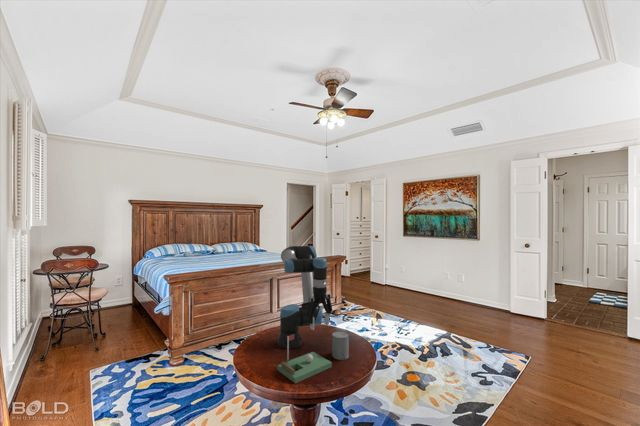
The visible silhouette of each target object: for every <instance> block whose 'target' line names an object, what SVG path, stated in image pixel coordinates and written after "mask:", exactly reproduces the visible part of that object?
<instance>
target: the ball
mask: <svg viewBox="0 0 640 426" xmlns="http://www.w3.org/2000/svg"><path fill="white" fill-rule="evenodd" d="M307 354H308V353H307ZM312 360H313V356H312V355H311V354H308V355H307V356H306V361H307V362H312Z"/></svg>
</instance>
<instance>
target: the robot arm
mask: <svg viewBox="0 0 640 426" xmlns="http://www.w3.org/2000/svg"><path fill="white" fill-rule="evenodd" d="M317 255H318V254H317V250H316V248H315V247H314V246H312V245H297V246H296V245H292V246H288V247H286V248H285V249H283V250H282V251H281V253H280V259H281V261H282V262H283V265H284V266H283V267H284V268H283V269H284V273H285V274H298V273H299V274H300V275H301V277H300V278H301V289H302V290H301V291H302V301H303V302H302V303H301V305H300V306H299V305H298V304H293V303H292V304H287V305H285V306H282V307H281V309H280V315H279V317H280V319H279V320H280V321H279V323H280V327H279V328H280V329H279V334H278V338H277V342H276V344H277V346H278V347H279V348H281V349H285V350H286V349H287V336H290V335H293V334H294V339H293V340H290V341H289V349H290V350H291V349H297V348H298V347H300V346H301V345H302V336H301V334H300V327H309V329H310V330H312V331H315V326H319V325H321V323H322V321H323V309H324V311H325V312H324V325H325V326H329V325H330V323H329V322H330V321H329V320H330V316H331V314H332V312H333V306H332V301H331V300H332V299H331V294H329V293H327V289H328V288H327V283H328V279H327V276H328V275H327V274H328V273H327V272H328V270H327V268H328V263H327V262H328V261H327V258H325V257H317ZM321 304H322V305H321Z"/></svg>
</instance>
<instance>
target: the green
mask: <svg viewBox="0 0 640 426" xmlns="http://www.w3.org/2000/svg"><path fill="white" fill-rule="evenodd" d="M293 339H294V334H293V335H290V336H287V350H286V356H287V357H286V361H285V362H284V361H282V362H281V363H280V364H278V365H277V368H276V370H277V371H278V372H279V373H281V374H282V375H283V376H285V377H286V378H287V379H289V380H291V381H292V382H293V383H294V384H297V383H299V382H302V381H304V380H306V379H309V378H311V377H313V376H315V375H318V374H319V373H321V372H324V371H326V370H328V369H331V368H332V367H333V362H332V361H331V360H328V359H326V358H325V357H323V356H321V355H320V354H318V353H316V352H314V351H311V352H308V353H306V354H303V355H300V356H297V357H295V358H293V359H290V356H289V355H290V352H289V351H290V350H289V341H290V340H293ZM308 354H311V355H312V356H313V360H312V362H307V361H306V356H307V355H308Z"/></svg>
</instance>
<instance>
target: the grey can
mask: <svg viewBox="0 0 640 426" xmlns="http://www.w3.org/2000/svg"><path fill="white" fill-rule="evenodd" d="M349 336H350V334H349V333H348V332H346V331H343V330H342V331H341V330H338V331H334V332H332V342H331V343H332V344H331V345H332V347H331V350H332V351H331V352H332V353H331V356H332V358H334V359H335V360H339V361H343V360H347V359H348V358H349V357H350V355H349V352H350V351H349V349H350V346H349V344H350V343H349V342H350V341H349V339H350V337H349Z"/></svg>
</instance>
